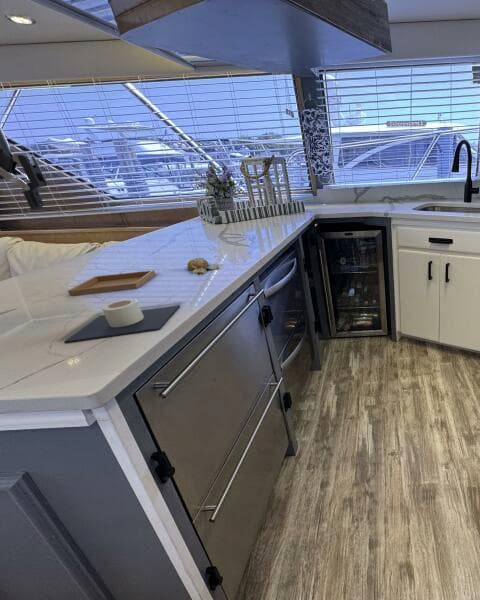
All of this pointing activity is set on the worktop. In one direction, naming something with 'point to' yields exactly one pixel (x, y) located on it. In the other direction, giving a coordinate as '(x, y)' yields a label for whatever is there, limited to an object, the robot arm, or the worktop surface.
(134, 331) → the mat
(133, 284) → the tray
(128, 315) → the tape
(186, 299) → the worktop surface
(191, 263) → the turtle figurine
